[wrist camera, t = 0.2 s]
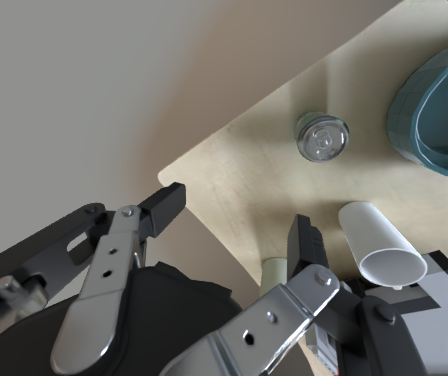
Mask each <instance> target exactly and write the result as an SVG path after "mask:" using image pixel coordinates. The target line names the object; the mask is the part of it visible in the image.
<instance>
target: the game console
mask: <svg viewBox="0 0 448 376" xmlns="http://www.w3.org/2000/svg"><path fill="white" fill-rule="evenodd" d="M421 257H422V258H423V259H424V260H425V262H426V264H427V272H426V274H425V276H424V277H423V278H422V279H420V280H419V281H417V282H415V283H413V284H410V285H406V286H402V289H401V290H395V289H393V287H388V286H382V287H378V288H374V289H371V288H370V287H369V286H368V285H367V284H366V283H365V282H364V281H363V280H362V279H361V278H358V279H356V278H353V279H350V280H347V281H344V282H343V281H340V282H339V283H340V285H341V286H342V287H344V288H345V289H347V290H348V291H350V292H351V293H353V294H355V295H357V296H358V297H360V298H362V299H363V298H364V297H365V296H368V295H372V296H376V297H378V298H381V299H383V300H384V301H386V302H387V303H389V304H390V305H391V306H393V307H394V308H395V309H396V310H397V311H398V312H399V314H400V315H401V316H402V318H403V319H404V321H405V323H406V325H407V327H408V329H409V331H410V334H411V336H412V338H413V340H414V343H415V345H416V347H417V349H418V351H419V354H420V356H421V358H422V360H423V363H424V365H425V367H426V369H427V371H428V374H429V376H448V258H447V257H446V256H445V255H444V254H443V253H442V252H441V251H440V250H438V251H435V252H431V253H428V254H425V255H422V256H421Z"/></svg>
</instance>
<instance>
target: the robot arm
mask: <svg viewBox="0 0 448 376" xmlns="http://www.w3.org/2000/svg"><path fill="white" fill-rule="evenodd" d="M185 205H186V187H185V185H184V184H181V183H177V182H174V183H172V184H171V185H170V186H168V187H164V188H162V189H160V190H158V191H157V192H156V193H154V194H153V195H152V196H150V197H148V198H147V199H146V200H144V201H143V202H141V203H140V204H139V205H137V206H134V205H129V206H125V207H122V208H120V209H118V210H117V211H106V209H105V206H104V205H103V204H101V203H91V204H87V205H84V206H82V207H81V208H79V209H77V210H75V211H73V212H72V213H70V214H68V215H66V216H65V217H63V218H61V219H59V220H58V221H56V222H54V223H52V224H51V225H49V226H47V227H45V228H44V229H42V230H40V231H38V232H37V233H35V234H33V235H31V236H30V237H28V238H26V239H25V240H23V241H21V242H19V243H17V244H16V245H14V246H12V247H10V248H9V249H7V250H5V251H3V252H2V253H0V376H269V373H270V372H271V371H272V370H273V369H274V368H275V367H276V365H277V364H278V363H279V362H280V361H281V360H282V359H283V358H284V356H285V355H286V354H287V353H288V351H289V350H290V349H291V348H292V346H294V344H295V343H296V342H297V341H298V340H299V339H300V338H301V337H302V336H303V334H304V333H305V332H306V331H307V330H308V329H309V328H310V327H311V325H312V324H313V323H315V324H316V325H317V326H319V327H320V328H321V329H323V330H324V331H325V332H327V333H328V334H329V335H331V336H332V337H333V338H334V339H335V347H336V355H337V363H338V371H339V376H429V374H428V371H427V369H426V367H425V365H424V363H423V360H422V358H421V356H420V354H419V351H418V349H417V347H416V345H415V343H414V340H413V338H412V336H411V334H410V331H409V329H408V327H407V325H406V323H405V321H404V319H403V318H402V316H401V315H400V314H399V312H398V311H397V310H396V309H395V308H394V307H393V306H391V305H390V304H389V303H387V302H386V301H384V300H383V299H381V298H378V297H376V296H372V295H368V296H365V297H364V298H363V299H362V298H360V297H358V296H357V295H355V294H353V293H351V292H350V291H348V290H347V289H345V288H344V287H342V286H341V285H340V283H339V280H338V279H337V277H336V276H335V274H334V273H333V272H332V271H331V270H329V265H328V261H327V256H326V252H325V248H324V243H323V238H322V234H321V233H320V231H319V230H318V229H317V227H313V226H311V224H310V218H309V217H306V216H303V215H299V214H296V216H295V218H294V221H293V224H292V226H291V229H290V231H289V235H288V241H287V283H286V284H284V285H283V284H282V283H280V284H278V285H276V286H275V287H274V288H272V289H271V290H270V291H268V292H267V293H266V294H264V295H263V296H262V297H260V298H259V299H258V300H256V301H255V302H254V303H252V304H251V305H250V306H249V307H247V308H246V309H245V310H243V309H242V308H241V306H240V305H239V304H238V303H237V302H236V301H235V300H234V299H233V298H231V293H232V290H230V289H228V288H225V287H222V286H220V285H218V284H215V283H213V282H205V281H197V280H191V279H189V278H188V277H187V276H185V275H184V274H183V273H181V272H180V271H179V270H178V269H177V268H175V267H173V266H170V265H168V264H165V263H163V262H160V261H159V262H158V263H157V264H156V265H155V267H154V266H148V267H145V259H146V246H147V240H146V238H147V237H148V236H151V237H153V238H156V237H157V236H158V235H159V234H160V233H161V232H162V231H163V230H164V229H165V228H166V227H167V226H168V225H169V224H170V223H171V222H172V221H173V219H174V218H175V217H176V216H177V215H178V214H179V213H180V212H181V211H182V210H183V209H184V207H185ZM83 232H85V233H86V235H87V238H86V239H85V240H84V241H82V242H81V243H80V244H78V245H77V246H76V247H74V248H73V249H72V250H70V251H69V252H68V251H67V246H68V244H69V243H70V242H71V241H72V240H74V239H75V238H76V237H78V236H79V235H81V234H82V233H83ZM88 265H90V267H89V270H88V272H87V275H86V278H85V280H84V283H83V286H82V288H81V291H80V293H79V294H77V295H74V296H72V297H70V298H68V299H65V300H63V301H61V302H58V303H56V304H54V305H52V306H49V307H47V308H45V306H46V305H47V303H48V301H50V300H51V299H52V298H53V297H54V296H55V295H56V294H57V293H58V292H60V291H61V290H62V289H63V288H64V287H65V286H66V285H67V284H68V283H70V282H71V281H72V280H73V279H74V278H75V277H76V276H77V275H78V274H80V273H81V272H82V271H83V270H84V269H85V268H86V267H87V266H88ZM44 308H45V309H44Z"/></svg>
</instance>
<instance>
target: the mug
mask: <svg viewBox="0 0 448 376" xmlns="http://www.w3.org/2000/svg"><path fill="white" fill-rule="evenodd" d="M338 219H339V222H340V225H341V227H342V230H343V232H344V234H345V237H346V239H347V242H348V244H349V247H350V249H351V252H352V254H353V256H354V259H355V261H356V264H357V266H358V268H359V270H360V273H361V274H362V275H363V277H365V278H366V279H367V280H369V281H370V282H373V283H375V284H378V285H382V286H388V287H393V289H395V290H401V289H402V286H406V285H410V284H413V283H415V282H417V281H419V280H420V279H422V278H423V277H424V276H425V274H426V272H427V264H426V262H425V260H424V259H423V258H422V257H421V256H420V254H419V253H418V252H417V251H416V250H415V249H414V248H413V247H412V245H411V244H410V243H409V242H408V241H407V240H406V239H405V238H404V237H403V236H402V235H401V234H400V233H399V231H398V230H397V229H396V228H395V227H394V226H393V225H392V224H391V223H390V222H389V221H388V220H387V219H386V217H385V216H384V215H383V214H382V213H381V212H380V211H379V210H378V209H377V208H376V207H375V206H374V205H372V204H370V203H368V202H362V201H357V202H352V203H349V204H347V205H345V206H344V207H343V208H341V210H340V211H339V214H338Z"/></svg>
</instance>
